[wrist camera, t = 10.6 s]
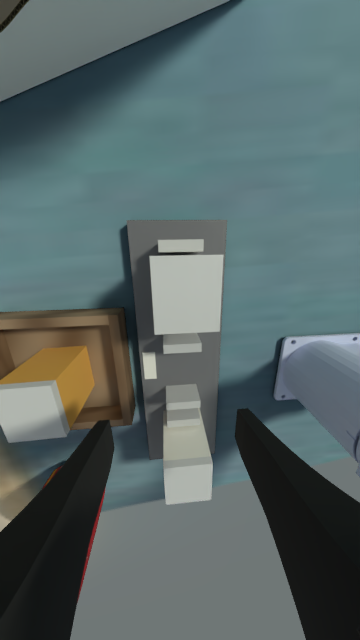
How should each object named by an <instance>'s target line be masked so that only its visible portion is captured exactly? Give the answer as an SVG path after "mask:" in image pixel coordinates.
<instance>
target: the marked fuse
mask: <svg viewBox="0 0 360 640" xmlns="http://www.w3.org/2000/svg"><path fill="white" fill-rule="evenodd" d="M94 385H95V384H94V379H93V374H92V370H91V365H90V361H89V356H88V351H87V347H86V346H74V347H60V348H46V349H42V350H40V351H39V352H38V353H36V354H35V355H34V356H32V357H31V358H30V359H28V360H27V361H26V362H24V363H23V364H22V365H20V366H19V367H18V368H16V369H15V370H13V371H12V372H11V373H9V374H8V375H7V376H5V377H4V378H3V379H1V380H0V425H1V427H2V429H3V431H4V434H5V436H6V438H7V441H8V443H13V442H23V441H33V440H42V439H52V438H62V437H67V435H68V433H69V431H70V429H71V427H72V426H73V424H74V422H75V420H76V418H77V416H78V415H79V413H80V411H81V409H82V407H83V406H84V404H85V402H86V400H87V398H88V396H89V395H90V393H91V391H92V389H93V387H94Z"/></svg>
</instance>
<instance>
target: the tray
mask: <svg viewBox="0 0 360 640" xmlns="http://www.w3.org/2000/svg"><path fill="white" fill-rule="evenodd" d="M74 346H86V347H87V351H88V356H89V361H90V365H91V370H92V374H93V379H94V384H95V385H94V387H93V389H92V391H91V393H90V395H89V396H88V398H87V400H86V402H85V404H84V406H83V407H82V409H81V411H80V413H79V415H78V416H77V418H76V420H75V422H74V424H73V426H72V427H71V429H70V430H77V429H89V428H93V426H94V425H95V424H96V422H97V421H99V420H110V425H111V427H113V426H125V425H132V421H133V416H134V411H135V399H134V391H133V382H132V373H131V365H130V356H129V347H128V339H127V330H126V321H125V313H124V308H99V309H73V310H47V311H20V312H0V380H1V379H3V378H4V377H5V376H7V375H8V374H9V373H11V372H12V371H13V370H15V369H16V368H18V367H19V366H20V365H22V364H23V363H24V362H26V361H27V360H28V359H30V358H31V357H32V356H34V355H35V354H36V353H38V352H39V351H40V350H42V349H46V348H60V347H74Z"/></svg>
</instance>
